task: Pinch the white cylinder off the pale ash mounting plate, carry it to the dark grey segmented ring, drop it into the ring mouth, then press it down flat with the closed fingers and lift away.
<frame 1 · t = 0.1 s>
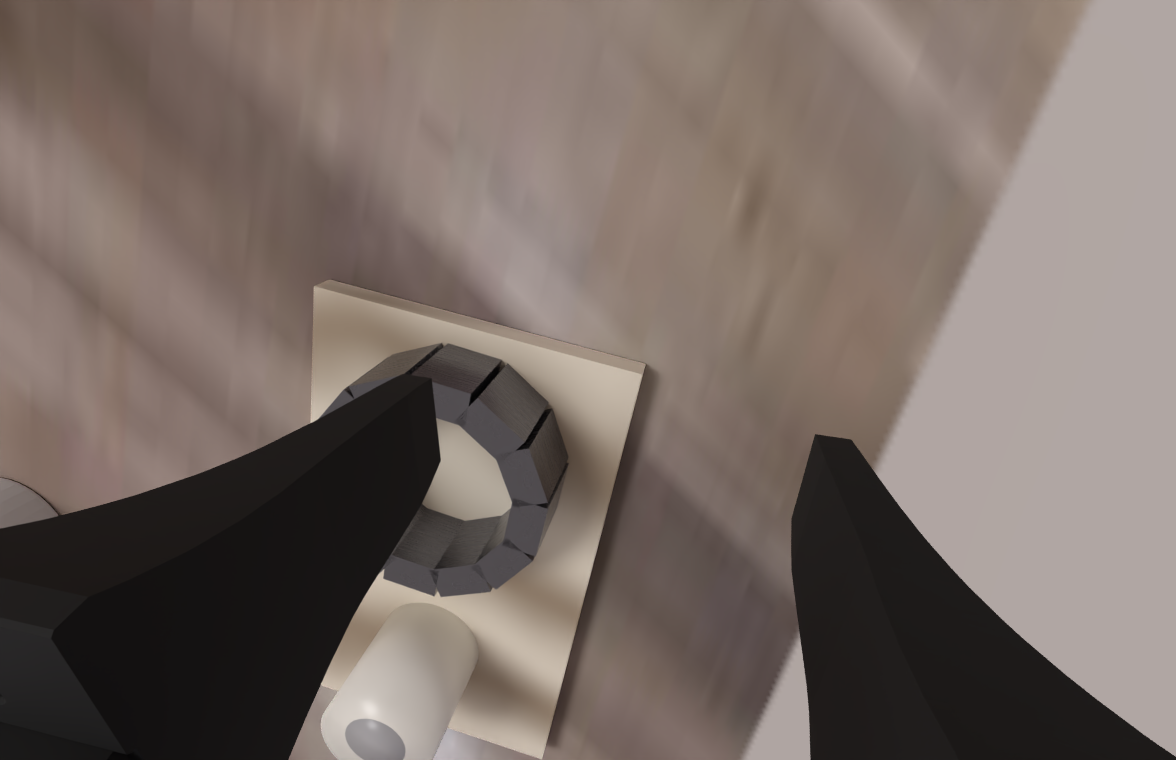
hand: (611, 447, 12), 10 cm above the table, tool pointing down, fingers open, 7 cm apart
mount plate: (452, 539, 28), on the table
coffee cup: (25, 525, 33), on the table
dark grey segmented ring: (457, 451, 25), resting on mount plate
white cylinder: (431, 642, 29), point 1 cm above the table, touching mount plate
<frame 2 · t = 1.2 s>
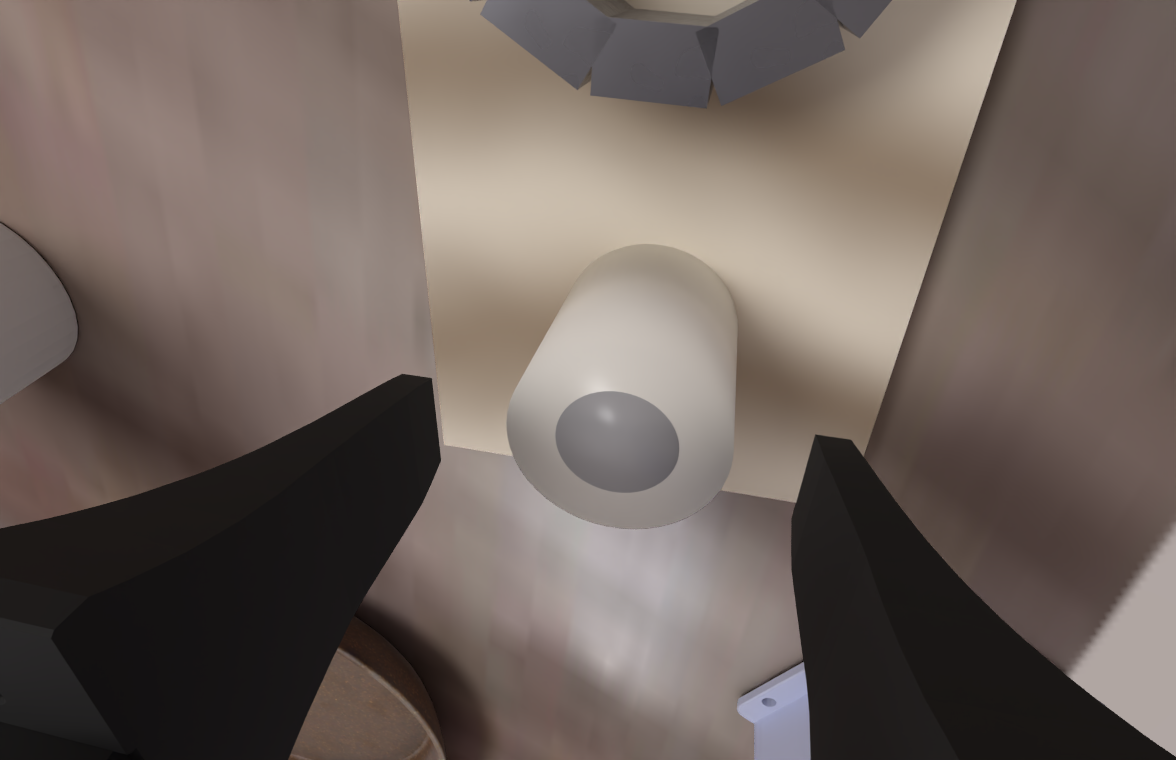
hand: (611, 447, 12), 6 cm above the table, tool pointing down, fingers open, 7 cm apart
mount plate: (674, 111, 15), on the table
coffee cup: (3, 287, 22), on the table
plant saucer: (300, 666, 32), on the table
white cylinder: (649, 326, 17), point 1 cm above the table, touching mount plate
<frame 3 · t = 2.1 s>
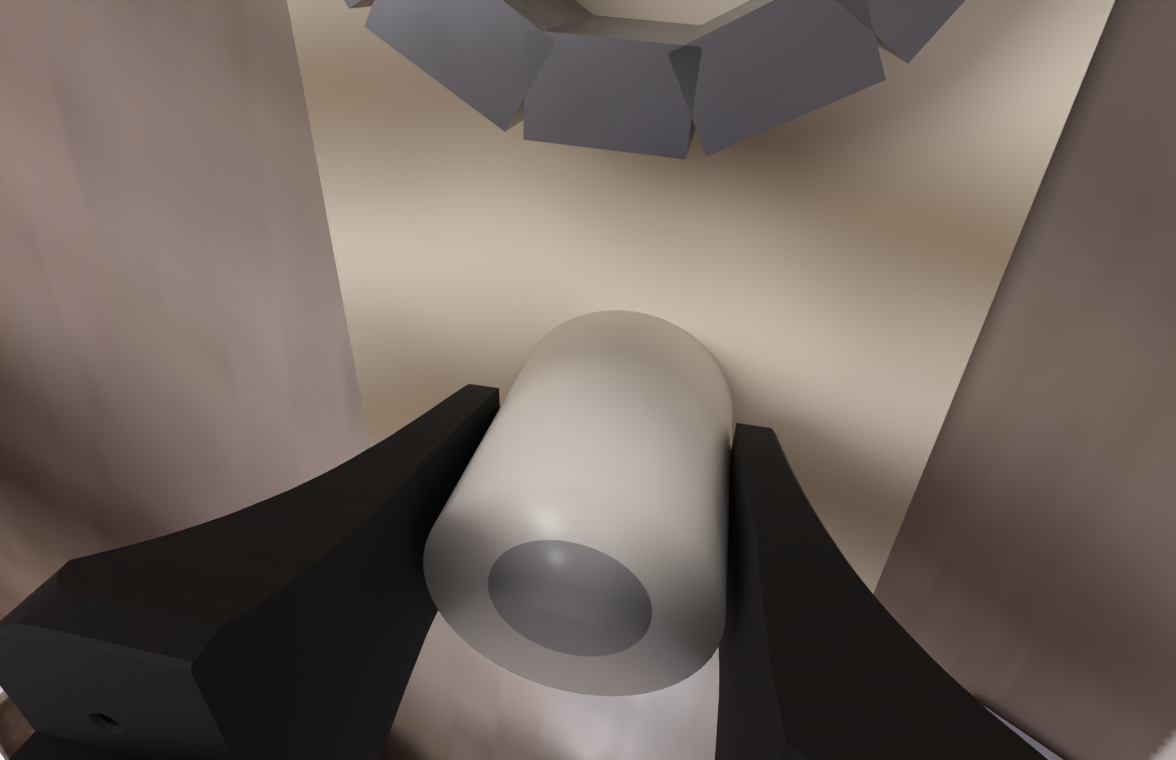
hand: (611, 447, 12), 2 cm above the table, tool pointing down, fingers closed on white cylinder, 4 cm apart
mount plate: (650, 145, 12), on the table
plant saucer: (249, 740, 29), on the table
white cylinder: (623, 406, 13), point 1 cm above the table, touching gripper, mount plate
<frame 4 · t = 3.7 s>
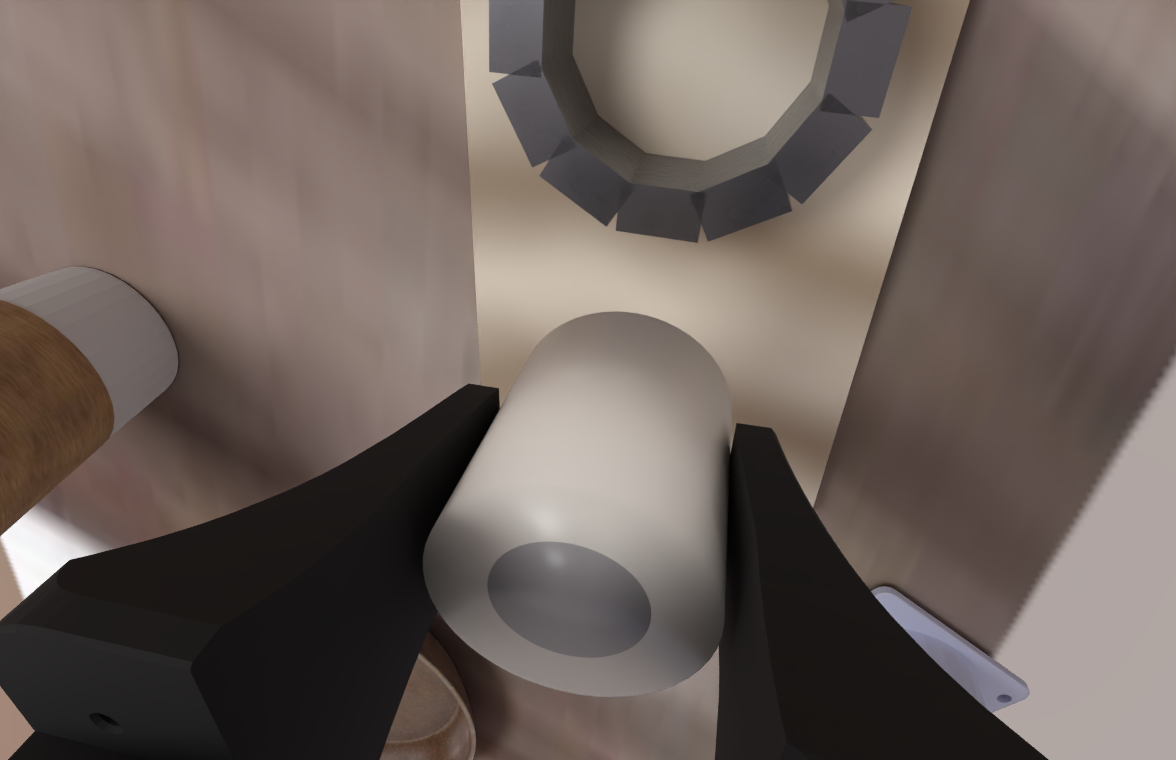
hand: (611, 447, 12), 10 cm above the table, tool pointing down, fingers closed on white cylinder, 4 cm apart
mount plate: (674, 218, 19), on the table
coffee cup: (116, 331, 27), on the table
plant saucer: (343, 651, 37), on the table
dark grey segmented ring: (693, 31, 16), resting on mount plate
white cylinder: (623, 407, 13), point 8 cm above the table, touching gripper
when the fingers open (4 cm above the table, at t = 5.5 s): white cylinder drops 2 cm, resting on mount plate.
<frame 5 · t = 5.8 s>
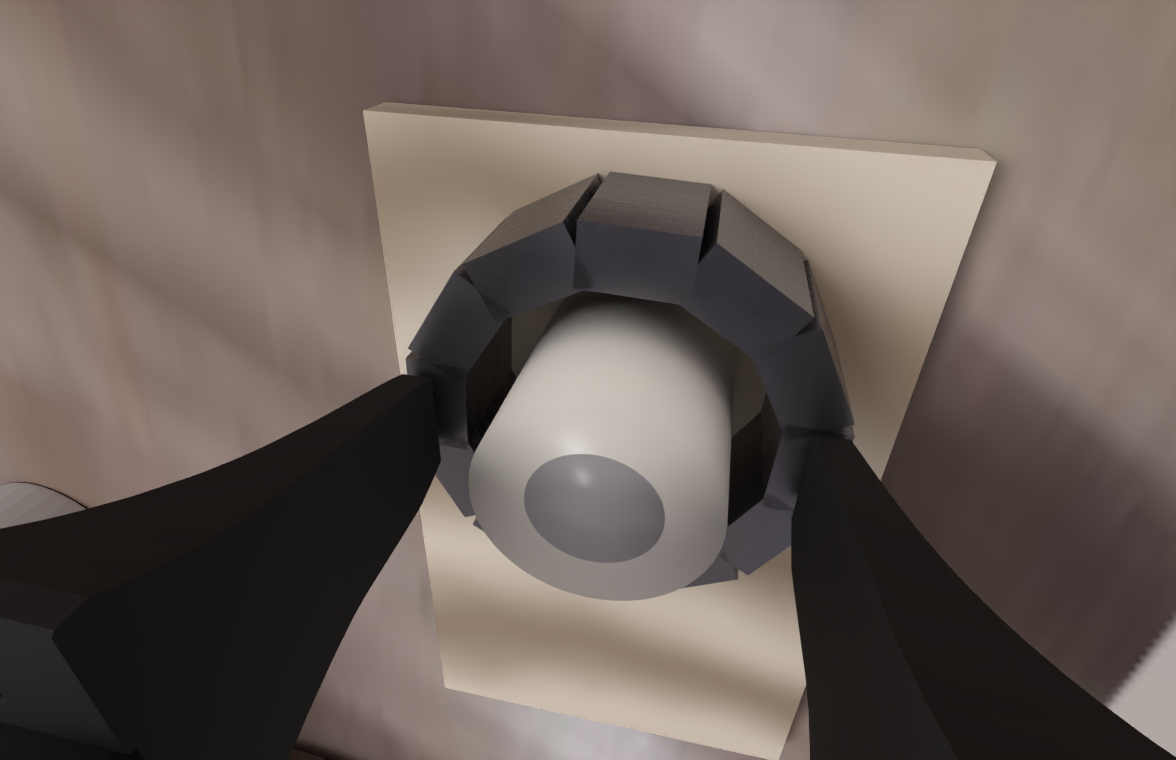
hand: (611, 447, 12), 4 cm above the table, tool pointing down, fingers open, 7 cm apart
mount plate: (628, 493, 19), on the table
coffee cup: (67, 535, 26), on the table
dark grey segmented ring: (636, 360, 15), resting on mount plate
white cylinder: (637, 361, 15), point 1 cm above the table, touching mount plate
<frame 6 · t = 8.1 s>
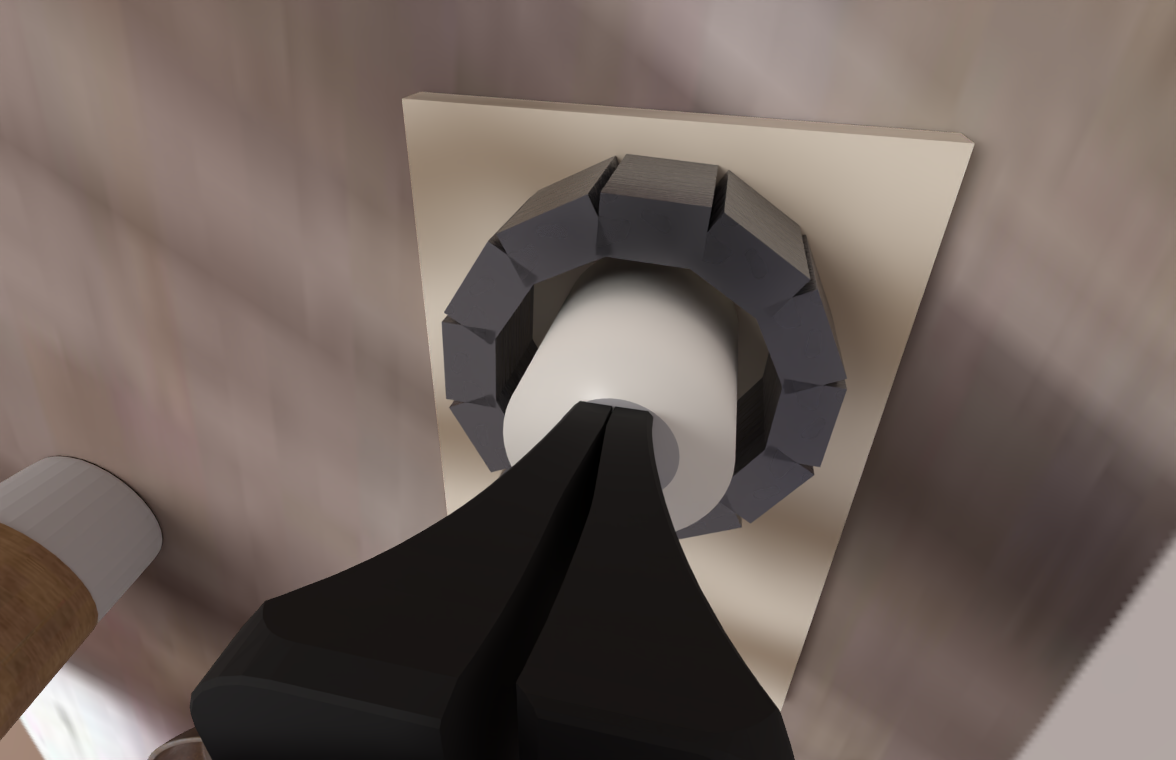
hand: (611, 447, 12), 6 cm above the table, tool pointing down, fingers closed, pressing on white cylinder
mount plate: (638, 459, 20), on the table
coffee cup: (101, 507, 27), on the table
dark grey segmented ring: (648, 330, 16), resting on mount plate
white cylinder: (649, 330, 16), point 1 cm above the table, touching gripper, mount plate
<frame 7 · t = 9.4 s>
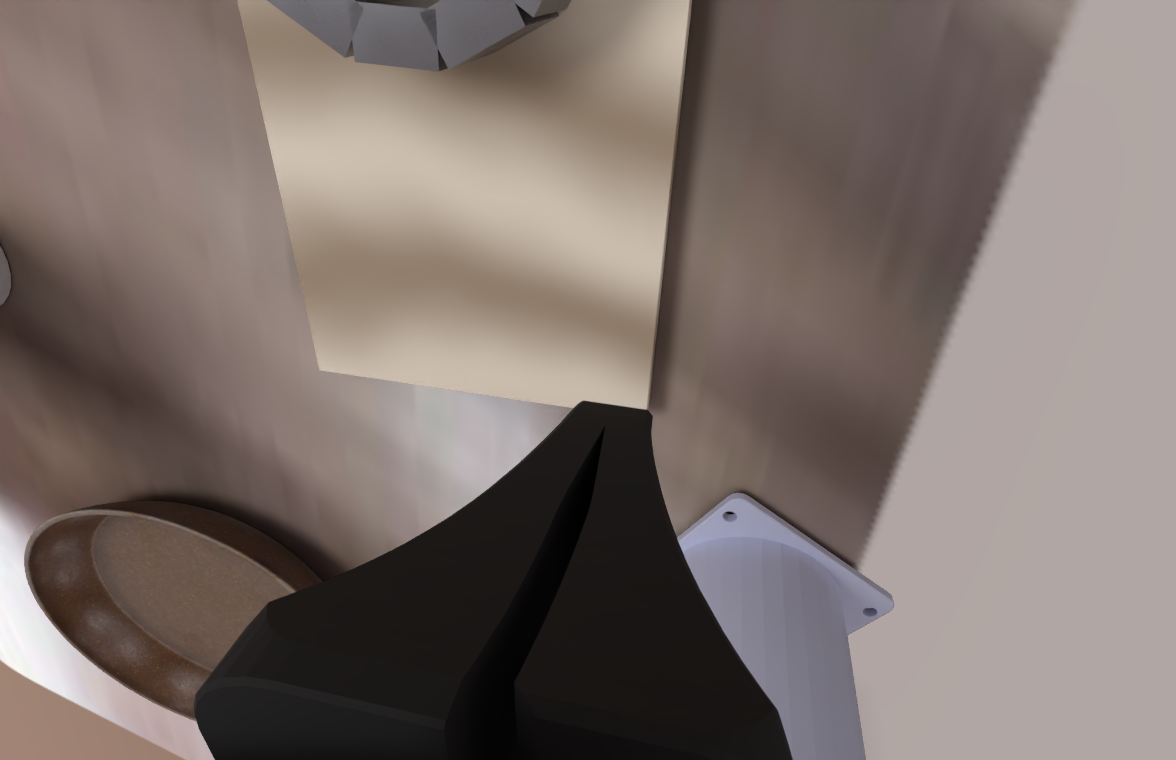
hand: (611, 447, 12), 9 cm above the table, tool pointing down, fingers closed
mount plate: (468, 79, 18), on the table
plant saucer: (231, 591, 36), on the table
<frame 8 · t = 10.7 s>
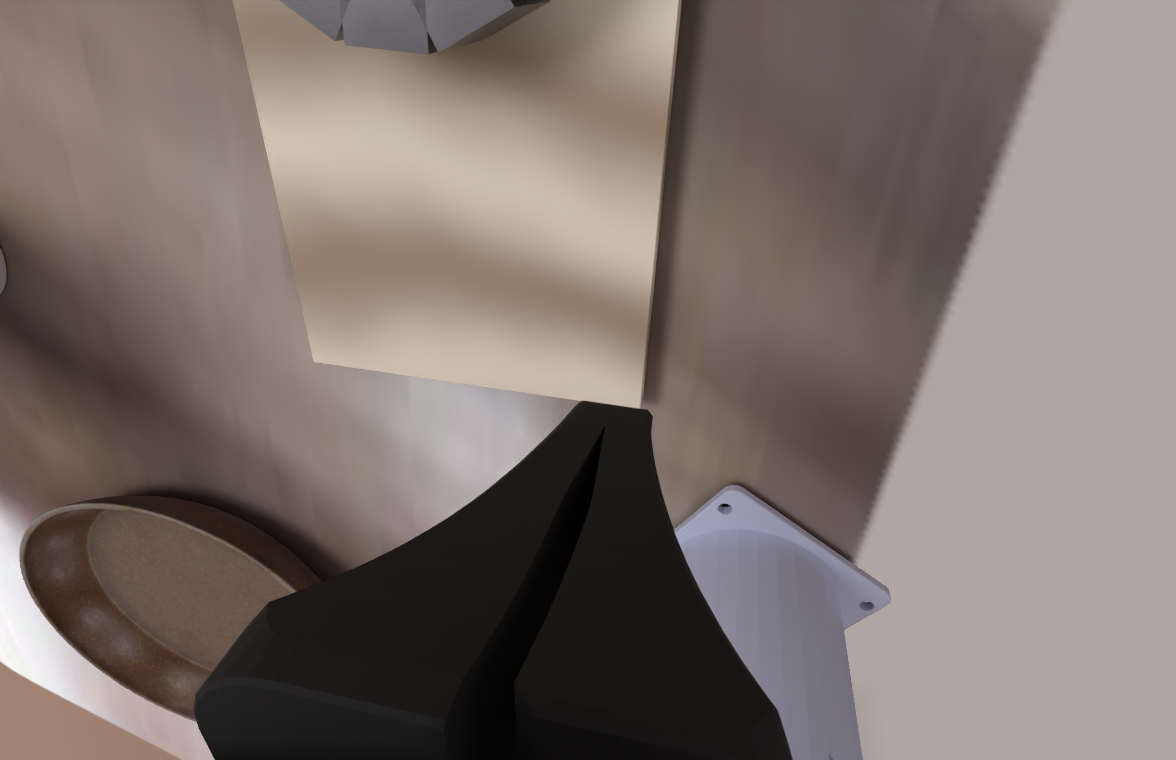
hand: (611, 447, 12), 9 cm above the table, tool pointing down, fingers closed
mount plate: (460, 67, 18), on the table
plant saucer: (227, 588, 36), on the table
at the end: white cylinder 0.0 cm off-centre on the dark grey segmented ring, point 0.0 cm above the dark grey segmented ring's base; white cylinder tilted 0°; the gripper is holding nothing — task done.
